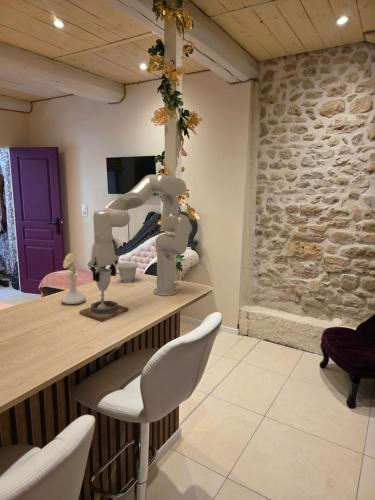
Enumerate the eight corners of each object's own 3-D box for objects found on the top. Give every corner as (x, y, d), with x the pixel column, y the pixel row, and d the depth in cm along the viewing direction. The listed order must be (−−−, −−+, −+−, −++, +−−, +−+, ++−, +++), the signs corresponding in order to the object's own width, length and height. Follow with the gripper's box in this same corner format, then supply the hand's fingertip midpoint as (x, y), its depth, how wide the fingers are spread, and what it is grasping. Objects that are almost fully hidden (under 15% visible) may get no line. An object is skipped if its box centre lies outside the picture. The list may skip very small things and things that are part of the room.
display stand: (106, 304, 159) (106, 297, 158) (128, 310, 152) (128, 303, 151) (79, 314, 146) (79, 306, 145) (101, 322, 138) (101, 314, 138)
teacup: (109, 281, 196) (108, 265, 194) (128, 277, 207) (128, 261, 205) (122, 286, 188) (122, 269, 186) (141, 281, 200) (142, 264, 198)
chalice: (95, 313, 142) (96, 271, 140) (91, 308, 148) (93, 268, 146) (112, 311, 146) (113, 271, 143) (108, 307, 152) (109, 268, 149)
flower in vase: (61, 299, 164) (59, 249, 160) (85, 297, 168) (84, 248, 163) (60, 308, 152) (57, 254, 147) (86, 306, 156) (84, 253, 151)
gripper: (111, 236, 152) (113, 272, 155) (81, 241, 138) (83, 281, 141) (124, 238, 148) (124, 275, 151) (93, 243, 134) (95, 284, 137)
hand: (104, 278), depth 146 cm, fingers open, 9 cm apart
